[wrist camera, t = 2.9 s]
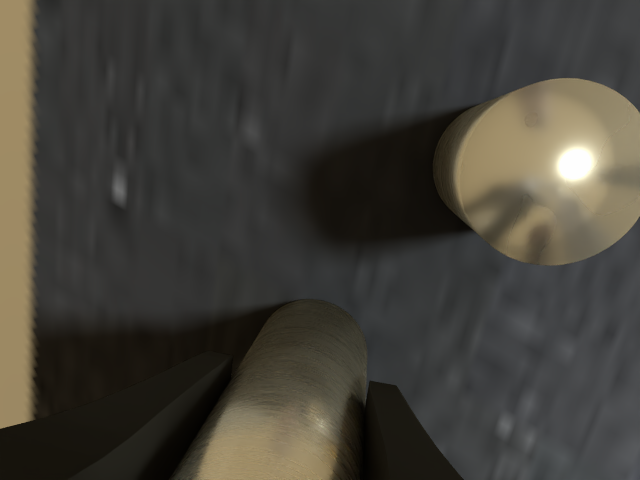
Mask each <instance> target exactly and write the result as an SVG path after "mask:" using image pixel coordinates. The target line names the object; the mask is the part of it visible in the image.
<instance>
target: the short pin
mask: <svg viewBox="0 0 640 480" xmlns="http://www.w3.org/2000/svg"><path fill="white" fill-rule="evenodd" d="M433 177H434V182H435V186H436V189H437V191H438V193H439V196H440V197H441V199H442V200H443V202H444V203H445V205H446V206H447V207H448V208H449V209H450V210H451V211H452V212H453V213H454V214H456V215H457V216H458V217H459V218H460V219H461V220H462V221H464V222H465V223H466V224H467V225H468V226H469V227H470V228H472V229H473V230H474V231H475V232H476V233H477V234H478V235H479V236H481V237H482V238H483V239H484V240H485V241H486V242H487V243H489V244H490V245H491V246H492V247H493V248H495V249H496V250H498V251H499V252H501V253H503V254H505V255H507V256H509V257H511V258H513V259H516V260H519V261H522V262H526V263H530V264H536V265H562V264H568V263H573V262H577V261H580V260H584V259H586V258H589V257H591V256H594V255H596V254H598V253H600V252H601V251H603V250H605V249H607V248H608V247H610V246H611V245H612V244H614V243H615V242H617V241H618V240H619V239H620V238H621V237H622V236H623V235H624V234H626V233H627V232H628V230H629V229H630V228H631V227H632V226H633V225H634V224H635V222H636V221H637V219H638V218H639V216H640V113H639V112H638V110H637V109H636V108H635V107H634V106H633V105H632V104H631V103H630V102H629V101H628V100H627V99H626V98H625V97H623V96H622V95H620V94H619V93H617V92H616V91H614V90H612V89H610V88H608V87H606V86H604V85H602V84H598V83H595V82H592V81H588V80H582V79H571V78H561V79H551V80H546V81H542V82H537V83H535V84H532V85H529V86H526V87H524V88H521V89H518V90H516V91H513V92H511V93H508V94H505V95H503V96H500V97H497V98H495V99H492V100H490V101H487V102H484V103H482V104H479V105H477V106H474V107H472V108H470V109H468V110H466V111H465V112H463V113H462V114H460V115H459V116H458V117H457V118H456V119H455V120H453V121H452V123H451V124H450V125H449V126H448V127H447V128H446V130H445V131H444V133H443V134H442V136H441V138H440V140H439V142H438V144H437V147H436V149H435V154H434V158H433Z"/></svg>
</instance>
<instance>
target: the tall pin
mask: <svg viewBox="0 0 640 480" xmlns="http://www.w3.org/2000/svg"><path fill="white" fill-rule="evenodd" d="M366 374H367V345H366V340H365V337H364V334H363V332H362V330H361V328H360V326H359V325H358V324H357V322H356V321H355V320H354V319H353V317H352V316H351V315H349V314H348V313H347V312H346V311H345V310H343V309H342V308H340V307H338V306H336V305H334V304H332V303H329V302H326V301H322V300H316V299H303V300H297V301H294V302H291V303H288V304H286V305H284V306H282V307H281V308H279V309H278V310H277V311H275V312H274V313H273V314H272V315H271V316H270V317H269V318H268V320H267V321H266V323H265V324H264V326H263V328H262V329H261V331H260V333H259V334H258V336H257V337H256V339H255V341H254V342H253V344H252V346H251V347H250V349H249V351H248V352H247V354H246V355H245V357H244V359H243V360H242V362H241V364H240V365H239V367H238V368H237V370H236V372H235V373H234V375H233V377H232V378H231V380H230V381H229V383H228V385H227V386H226V388H225V390H224V391H223V393H222V395H221V396H220V398H219V399H218V401H217V403H216V404H215V406H214V408H213V409H212V411H211V412H210V414H209V416H208V417H207V419H206V421H205V422H204V424H203V425H202V427H201V429H200V430H199V432H198V434H197V435H196V437H195V439H194V440H193V442H192V443H191V445H190V447H189V448H188V450H187V452H186V453H185V455H184V456H183V458H182V460H181V461H180V463H179V465H178V466H177V468H176V469H175V471H174V473H173V474H172V476H171V478H170V479H169V480H362V477H363V452H364V417H365V400H366Z"/></svg>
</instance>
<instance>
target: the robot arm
mask: <svg viewBox="0 0 640 480" xmlns="http://www.w3.org/2000/svg"><path fill="white" fill-rule="evenodd" d="M232 361H233V355H228V354H223V353H218V352H212V351H206V352H204V353H201V354H199V355H197V356H195V357H192V358H190V359H188V360H186V361H184V362H182V363H180V364H178V365H176V366H174V367H172V368H170V369H168V370H166V371H164V372H162V373H159V374H157V375H155V376H153V377H151V378H149V379H147V380H145V381H142V382H140V383H138V384H135V385H133V386H131V387H128V388H126V389H124V390H121V391H119V392H117V393H114V394H112V395H110V396H107V397H105V398H102V399H99V400H97V401H94V402H91V403H89V404H86V405H83V406H80V407H77V408H74V409H71V410H68V411H65V412H61V413H58V414H55V415H52V416H48V417H45V418H41V419H37V420H33V421H29V422H25V423H21V424H17V425H14V426H10V427H6V428H2V429H0V480H169V479H170V478H171V476H172V474H173V473H174V471H175V469H176V468H177V466H178V465H179V463H180V461H181V460H182V458H183V456H184V455H185V453H186V452H187V450H188V448H189V447H190V445H191V443H192V442H193V440H194V439H195V437H196V435H197V434H198V432H199V430H200V429H201V427H202V425H203V424H204V422H205V421H206V419H207V417H208V416H209V414H210V412H211V411H212V409H213V408H214V406H215V404H216V403H217V401H218V399H219V398H220V396H221V395H222V393H223V391H224V390H225V388H226V386H227V385H228V383H229V381H230V380H231V370H232ZM362 480H464V479H463V478H462V477H461V476H460V475H459V474H458V473H457V471H456V470H455V469H454V468H453V467H452V465H451V464H450V463H449V462H448V460H447V459H446V458H445V457H444V456H443V454H442V453H441V452H440V451H439V449H438V448H437V447H436V445H435V444H434V442H433V441H432V440H431V438H430V437H429V435H428V434H427V433H426V431H425V430H424V428H423V427H422V425H421V424H420V422H419V421H418V419H417V418H416V416H415V414H414V413H413V411H412V410H411V408H410V407H409V405H408V403H407V402H406V400H405V398H404V397H403V395H402V393H401V392H400V390H399V389H398V387H397V386H395V385H390V384H385V383H379V382H374V381H370V382H369V388H368V393H367V399H366V405H365V417H364V452H363V477H362Z"/></svg>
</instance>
